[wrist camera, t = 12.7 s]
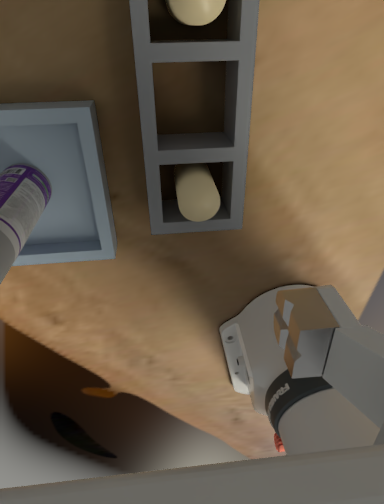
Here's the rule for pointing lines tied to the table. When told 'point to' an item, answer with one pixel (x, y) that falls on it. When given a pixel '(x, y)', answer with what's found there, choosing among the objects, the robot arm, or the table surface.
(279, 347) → the robot arm
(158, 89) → the table surface
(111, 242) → the tray
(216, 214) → the holder
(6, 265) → the container
